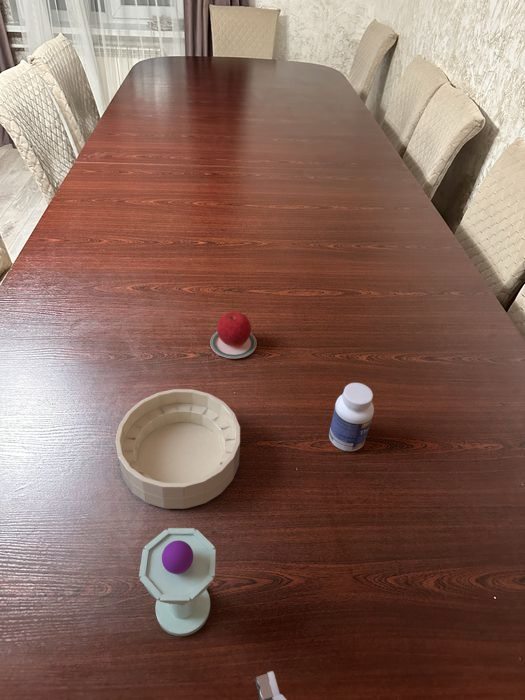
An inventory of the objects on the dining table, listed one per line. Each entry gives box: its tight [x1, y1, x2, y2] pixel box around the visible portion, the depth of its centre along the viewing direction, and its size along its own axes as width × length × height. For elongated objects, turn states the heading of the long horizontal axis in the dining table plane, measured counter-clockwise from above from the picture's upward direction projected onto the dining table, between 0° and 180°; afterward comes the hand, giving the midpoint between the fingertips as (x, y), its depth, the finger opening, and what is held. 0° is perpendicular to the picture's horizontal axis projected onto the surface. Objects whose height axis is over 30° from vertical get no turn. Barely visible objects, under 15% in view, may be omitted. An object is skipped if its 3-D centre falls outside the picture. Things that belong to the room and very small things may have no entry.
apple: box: [209, 311, 257, 360], centre depth 89 cm, size 8×8×6 cm
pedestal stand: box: [138, 527, 217, 637], centre depth 54 cm, size 7×7×11 cm
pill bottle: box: [328, 382, 375, 452], centre depth 74 cm, size 5×5×10 cm
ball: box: [162, 540, 193, 574], centre depth 50 cm, size 3×3×3 cm
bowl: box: [114, 388, 241, 510], centre depth 71 cm, size 16×16×6 cm
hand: (205, 694), depth 40 cm, fingers open, 8 cm apart
